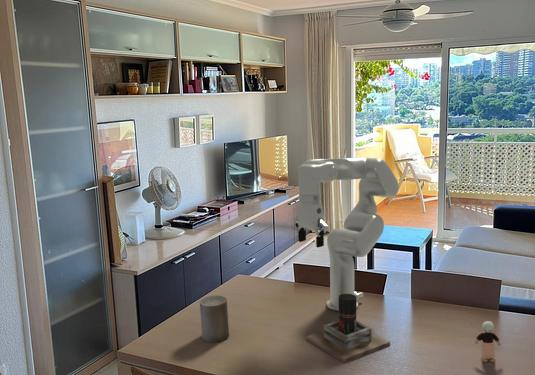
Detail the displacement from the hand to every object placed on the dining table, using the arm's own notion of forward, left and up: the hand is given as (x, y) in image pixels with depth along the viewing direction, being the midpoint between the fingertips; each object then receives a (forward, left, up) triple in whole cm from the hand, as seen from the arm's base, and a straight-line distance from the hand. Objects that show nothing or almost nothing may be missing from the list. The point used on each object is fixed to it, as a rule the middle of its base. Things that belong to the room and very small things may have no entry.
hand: (311, 243), depth 192 cm
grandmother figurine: (-26, +55, -30) cm, 68 cm away
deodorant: (+1, +21, -29) cm, 36 cm away
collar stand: (+1, +21, -30) cm, 37 cm away
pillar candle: (+36, -10, -30) cm, 48 cm away
